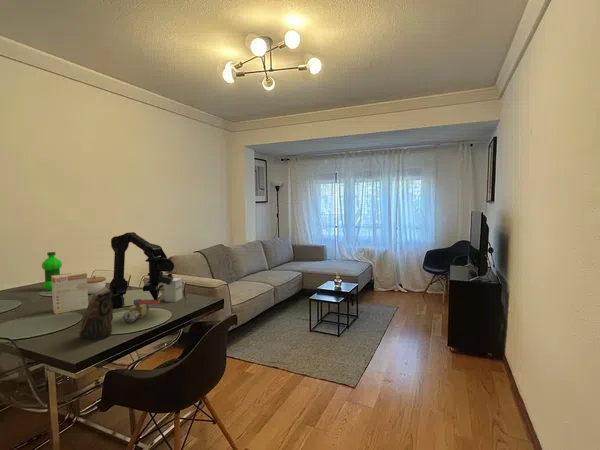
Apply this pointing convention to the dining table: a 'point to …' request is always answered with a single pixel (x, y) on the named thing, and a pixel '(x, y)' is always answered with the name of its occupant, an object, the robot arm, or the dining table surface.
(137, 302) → the lever
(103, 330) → the owl
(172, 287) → the supplement box
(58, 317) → the dining table surface
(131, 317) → the valve body
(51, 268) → the plastic bottle
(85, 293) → the coffeecake box
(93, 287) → the lidded bowl
